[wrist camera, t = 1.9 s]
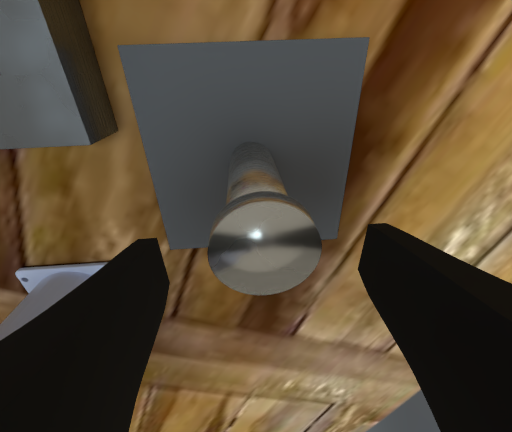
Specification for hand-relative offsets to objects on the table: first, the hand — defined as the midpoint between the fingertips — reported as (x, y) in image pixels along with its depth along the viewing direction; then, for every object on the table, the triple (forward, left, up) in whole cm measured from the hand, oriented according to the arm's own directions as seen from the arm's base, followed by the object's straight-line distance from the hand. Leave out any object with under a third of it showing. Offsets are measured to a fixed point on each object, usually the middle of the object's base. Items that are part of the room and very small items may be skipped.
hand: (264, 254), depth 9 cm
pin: (0, 0, -10) cm, 10 cm away
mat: (0, 0, -10) cm, 10 cm away
